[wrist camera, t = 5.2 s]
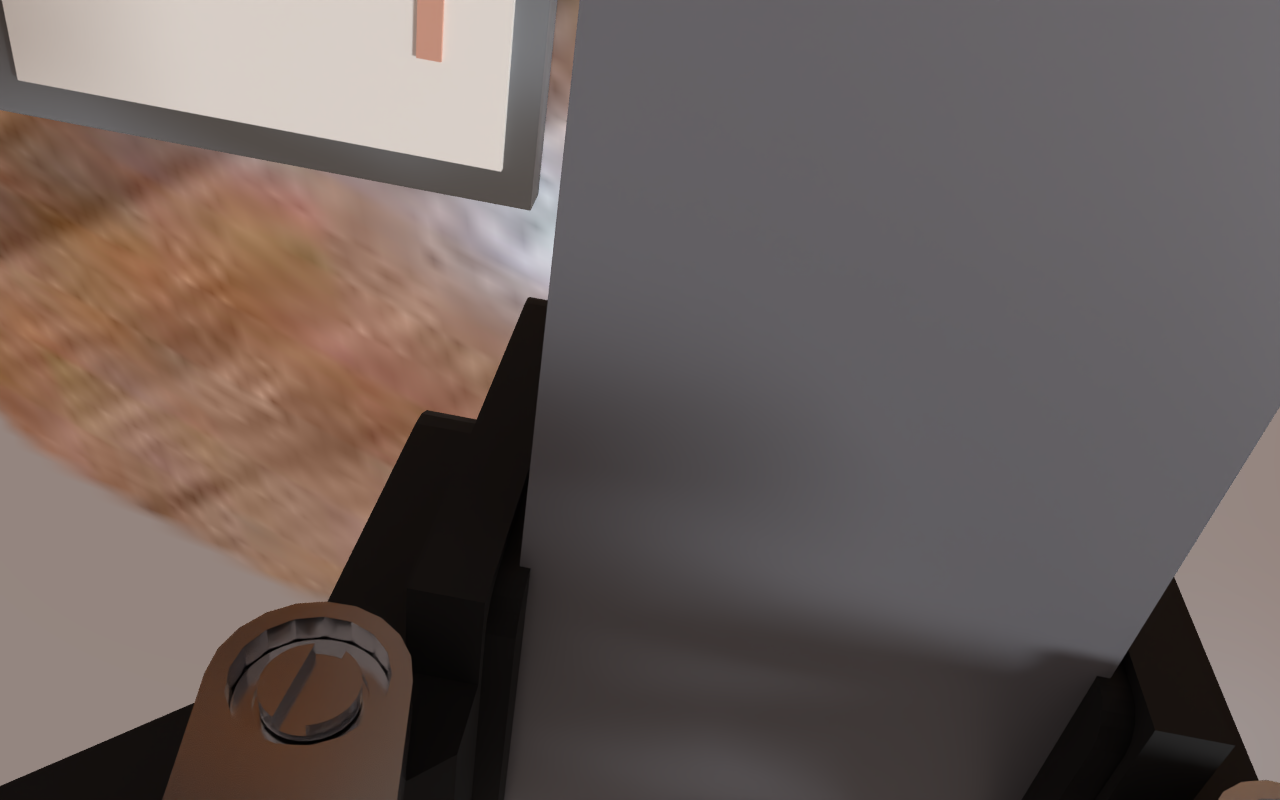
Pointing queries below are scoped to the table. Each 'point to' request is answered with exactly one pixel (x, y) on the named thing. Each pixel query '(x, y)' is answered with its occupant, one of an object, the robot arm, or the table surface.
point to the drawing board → (302, 82)
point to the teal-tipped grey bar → (883, 382)
